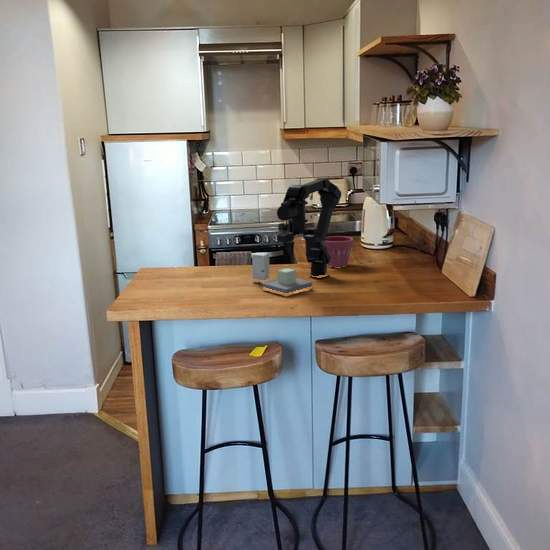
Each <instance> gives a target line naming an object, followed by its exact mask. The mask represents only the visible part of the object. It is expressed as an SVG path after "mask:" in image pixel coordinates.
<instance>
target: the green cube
mask: <svg viewBox="0 0 550 550" xmlns="http://www.w3.org/2000/svg"><path fill="white" fill-rule="evenodd" d="M296 278H297V270H296V269H293V268H288V267H287V268H282V269H279V270H277V279H278V283H281V284H285V285H289V284H292V283H296Z"/></svg>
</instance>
